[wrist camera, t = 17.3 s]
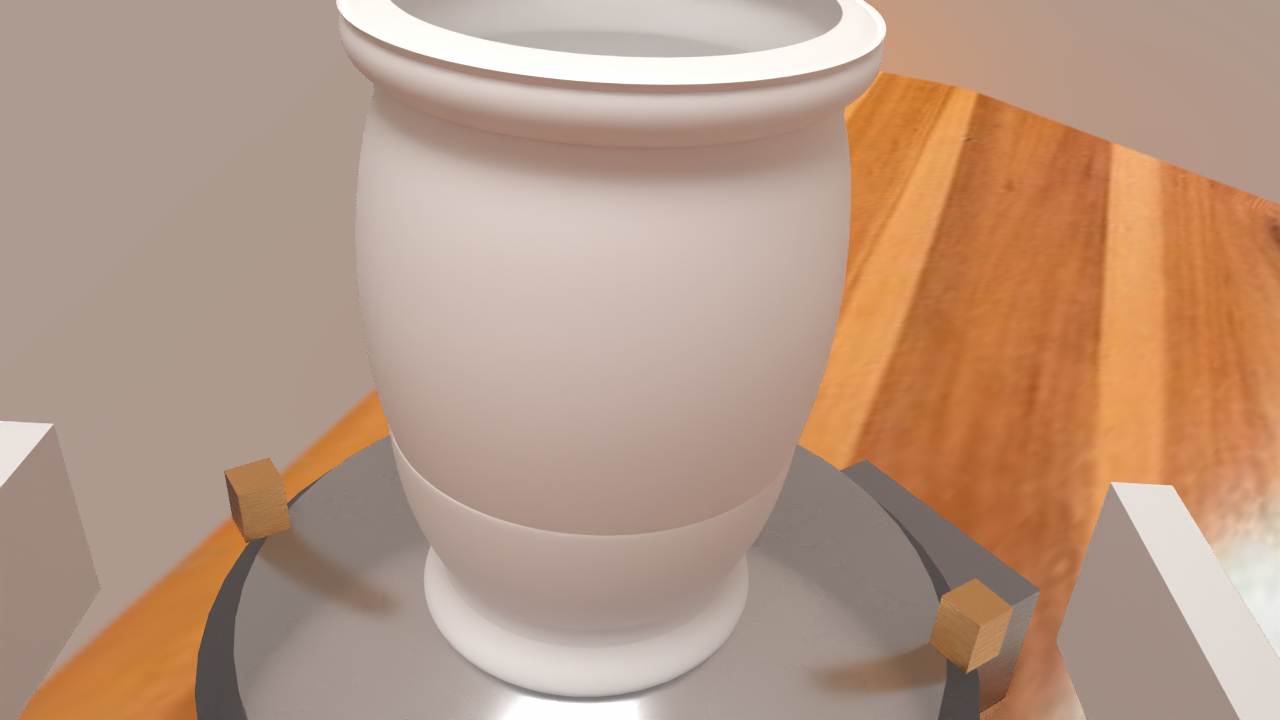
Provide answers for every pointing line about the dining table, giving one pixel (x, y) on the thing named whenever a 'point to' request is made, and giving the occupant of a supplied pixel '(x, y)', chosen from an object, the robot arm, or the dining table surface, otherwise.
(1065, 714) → the dining table surface
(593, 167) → the jar
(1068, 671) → the robot arm
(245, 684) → the cylinder
